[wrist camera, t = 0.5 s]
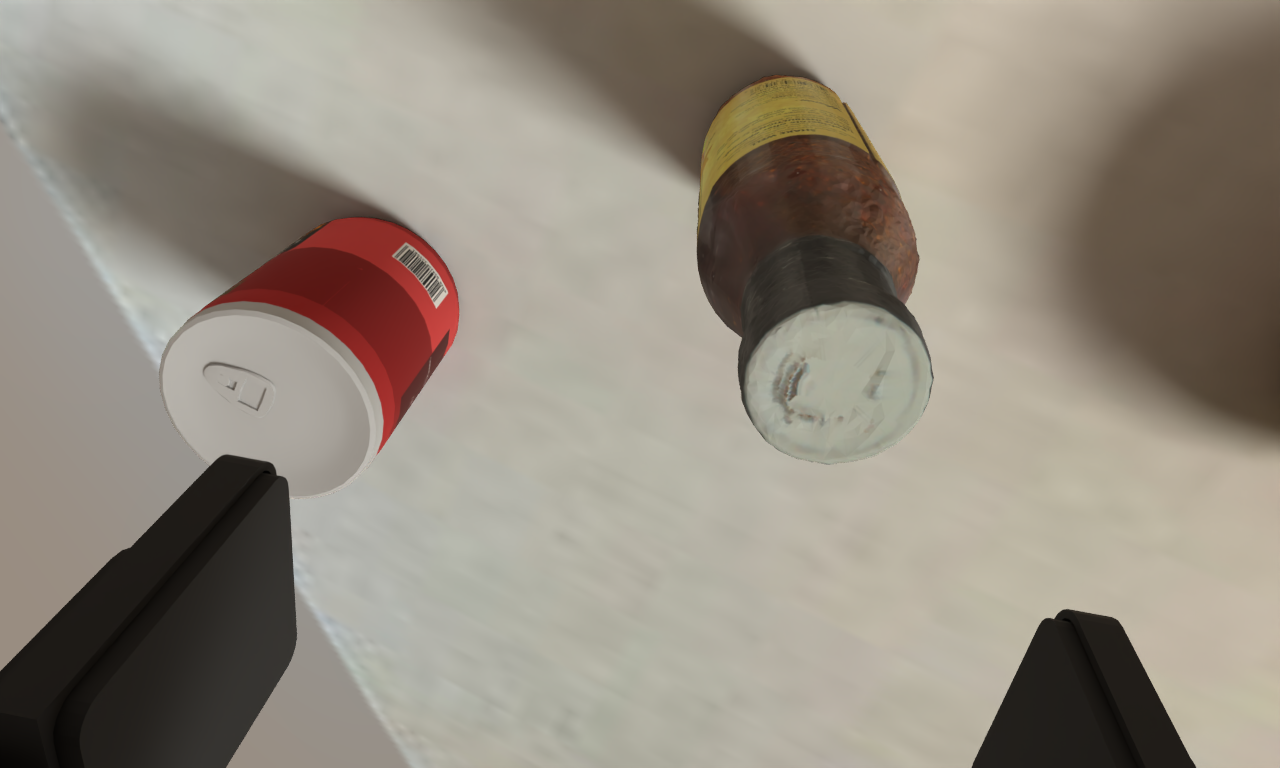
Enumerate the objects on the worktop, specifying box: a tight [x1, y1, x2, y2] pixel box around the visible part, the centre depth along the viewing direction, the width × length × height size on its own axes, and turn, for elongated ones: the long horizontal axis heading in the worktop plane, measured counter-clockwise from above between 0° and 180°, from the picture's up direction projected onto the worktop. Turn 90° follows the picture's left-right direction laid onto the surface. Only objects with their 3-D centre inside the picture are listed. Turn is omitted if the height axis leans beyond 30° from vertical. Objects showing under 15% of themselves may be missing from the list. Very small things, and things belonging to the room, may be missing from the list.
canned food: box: [159, 217, 459, 499], centre depth 36 cm, size 8×8×11 cm
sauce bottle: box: [697, 75, 934, 464], centre depth 27 cm, size 6×6×20 cm
